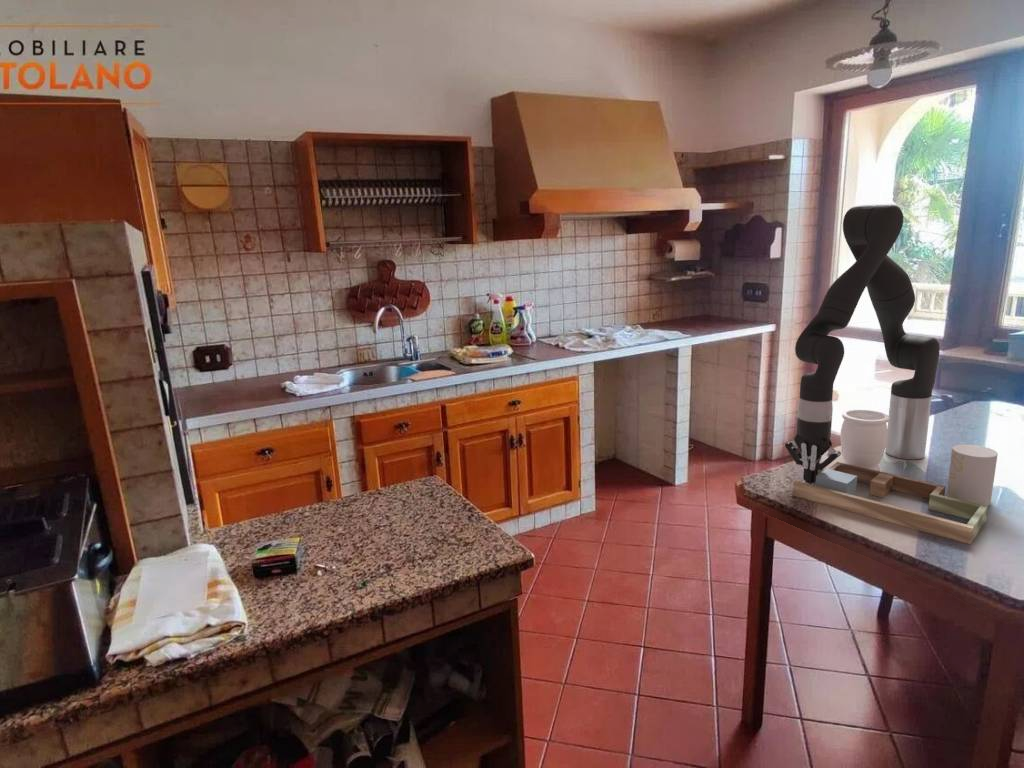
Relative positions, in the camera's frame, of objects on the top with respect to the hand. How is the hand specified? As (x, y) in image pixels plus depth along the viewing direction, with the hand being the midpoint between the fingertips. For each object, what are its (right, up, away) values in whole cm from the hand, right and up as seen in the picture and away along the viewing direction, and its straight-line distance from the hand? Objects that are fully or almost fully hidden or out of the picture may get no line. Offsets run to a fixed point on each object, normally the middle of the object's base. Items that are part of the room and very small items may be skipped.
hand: (809, 482), depth 147 cm
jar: (+19, +2, +10) cm, 21 cm away
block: (+4, -2, -4) cm, 6 cm away
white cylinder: (+31, -2, -10) cm, 33 cm away
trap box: (+13, -3, -10) cm, 17 cm away
